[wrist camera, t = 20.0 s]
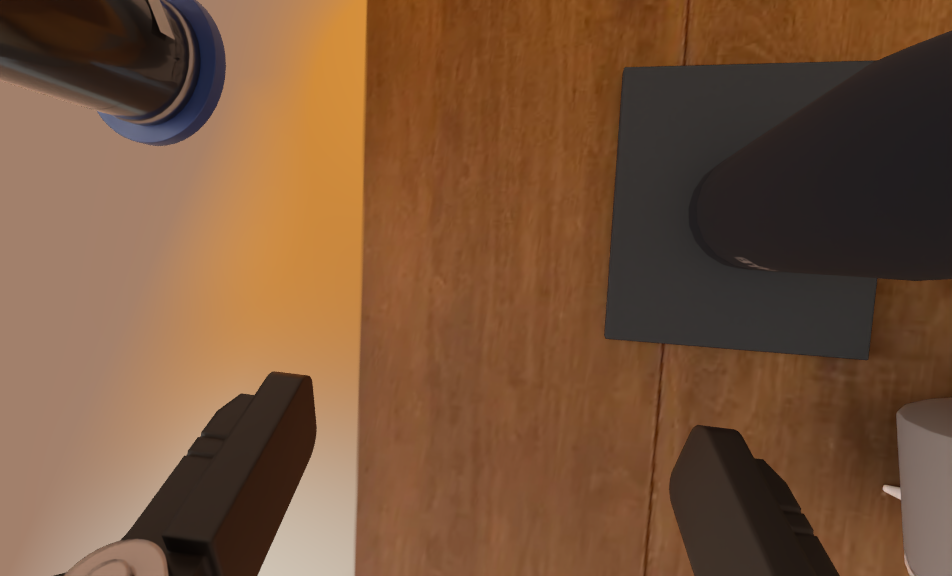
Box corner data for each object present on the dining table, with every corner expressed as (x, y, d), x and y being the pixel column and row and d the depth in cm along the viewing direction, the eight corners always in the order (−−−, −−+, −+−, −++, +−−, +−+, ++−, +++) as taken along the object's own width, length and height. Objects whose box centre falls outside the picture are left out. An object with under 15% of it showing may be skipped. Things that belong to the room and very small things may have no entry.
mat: (604, 336, 30) (605, 338, 29) (622, 73, 29) (624, 67, 28) (858, 356, 27) (868, 360, 26) (890, 66, 26) (902, 59, 25)
